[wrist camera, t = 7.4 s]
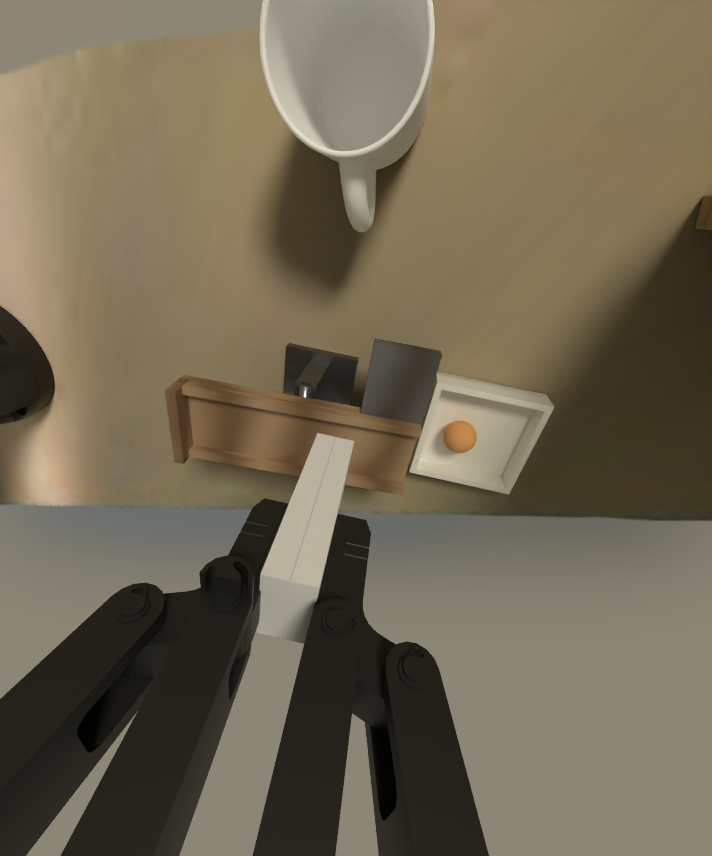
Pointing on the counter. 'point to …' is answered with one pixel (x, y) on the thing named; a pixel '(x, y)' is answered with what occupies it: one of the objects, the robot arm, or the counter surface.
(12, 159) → the counter surface
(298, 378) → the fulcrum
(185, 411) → the plank
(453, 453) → the dish
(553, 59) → the counter surface
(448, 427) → the ball
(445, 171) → the counter surface
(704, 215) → the planter
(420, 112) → the mug
